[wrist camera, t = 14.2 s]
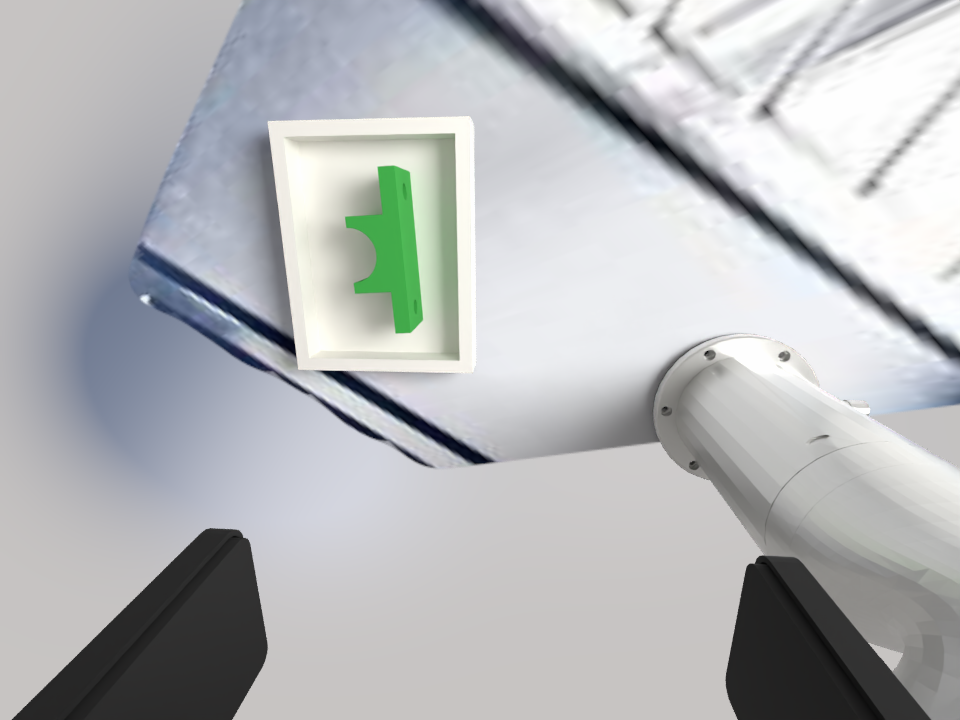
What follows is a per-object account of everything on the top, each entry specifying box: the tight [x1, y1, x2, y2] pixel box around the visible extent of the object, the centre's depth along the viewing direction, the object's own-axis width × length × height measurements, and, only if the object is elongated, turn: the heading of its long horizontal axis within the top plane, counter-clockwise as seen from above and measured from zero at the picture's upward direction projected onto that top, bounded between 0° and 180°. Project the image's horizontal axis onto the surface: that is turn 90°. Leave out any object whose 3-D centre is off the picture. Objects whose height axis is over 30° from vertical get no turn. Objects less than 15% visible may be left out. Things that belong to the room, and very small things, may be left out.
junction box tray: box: [268, 116, 476, 373], centre depth 36 cm, size 14×18×3 cm
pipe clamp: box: [345, 165, 423, 334], centre depth 34 cm, size 11×4×5 cm, turn 3°
